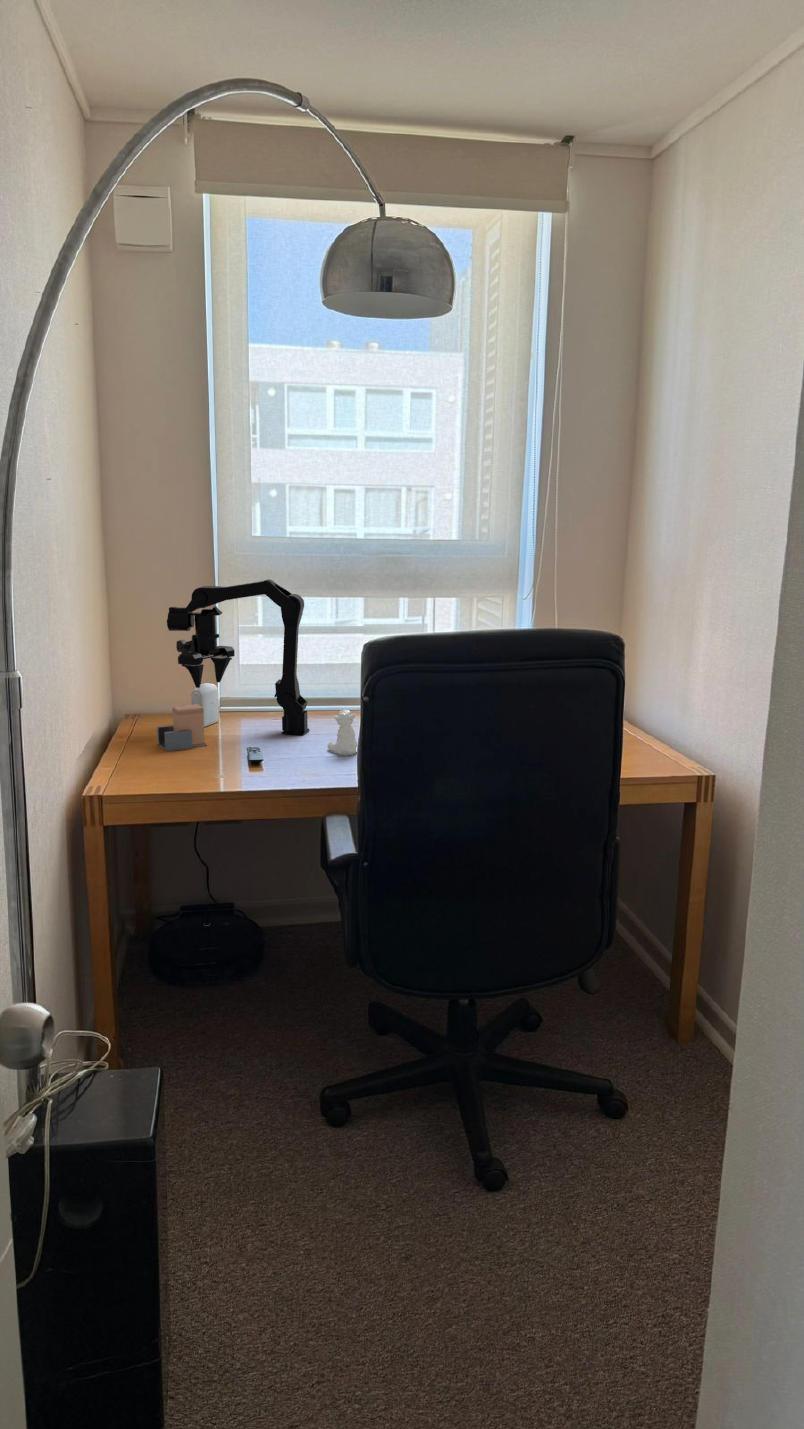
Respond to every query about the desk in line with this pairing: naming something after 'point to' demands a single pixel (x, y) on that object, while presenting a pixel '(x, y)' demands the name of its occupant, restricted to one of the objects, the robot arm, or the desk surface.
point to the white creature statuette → (344, 735)
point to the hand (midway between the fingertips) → (208, 684)
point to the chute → (175, 738)
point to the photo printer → (207, 702)
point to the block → (190, 721)
